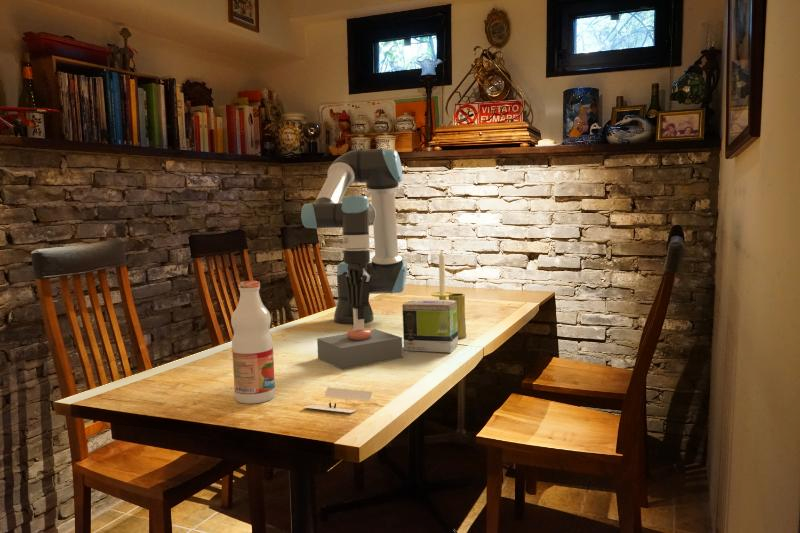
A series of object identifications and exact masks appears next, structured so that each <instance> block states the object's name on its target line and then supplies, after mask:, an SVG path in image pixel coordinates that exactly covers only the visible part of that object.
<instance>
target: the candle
mask: <svg viewBox="0 0 800 533" xmlns="http://www.w3.org/2000/svg"><path fill="white" fill-rule="evenodd" d="M445 258H446V255H445V254H444V252H443V249H441V251H440V254H439V255H438V260H439V261H438V266H439V267H438V268H439V269H438V274H439V277H438V278H439V279H438V280H439V292H433V293H431V296H432V297H435V298H436V297H439V298H438V300H447V298H449V294H453V292H448V291H447V292H446V260H445Z"/></svg>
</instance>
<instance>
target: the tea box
mask: <svg viewBox="0 0 800 533" xmlns="http://www.w3.org/2000/svg"><path fill="white" fill-rule="evenodd" d="M401 306H402V330H403V332H402V333H403V337H402V339H403V350H404V351H409V352H410V351H411V352H412V351H413V352H432V353H445V354H446V353H449V354H450V353H453V351H454V350H455V349H456V348H457V347H458V345H459V339H458V323H457V300H449V299H446V300H439V299H410V300H408V301H407V302H405V303H402V305H401Z"/></svg>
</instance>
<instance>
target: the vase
mask: <svg viewBox="0 0 800 533" xmlns="http://www.w3.org/2000/svg"><path fill="white" fill-rule="evenodd" d="M452 293H453V292H452ZM465 298H466V297H465V293H458V292H457V293H455V292H454V293H453V294H449V296H448V300H457V323H458V340H460V339H461V340H462V339H465V338H467V330H466V329H467V328H466V326H467V325H466V310H465V307H466V305H465V304H466V303H465V300H466V299H465Z"/></svg>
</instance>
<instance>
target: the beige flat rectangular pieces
mask: <svg viewBox="0 0 800 533" xmlns="http://www.w3.org/2000/svg"><path fill="white" fill-rule="evenodd" d="M372 394H373V391H369V390H368V391H367V390H359V389H358V390H357V389H347V388H338V387H337V388H336V387H327V388H326V390H325V394H324V397H327V398H339V399H349V400H356V401H358V400H359V401H366V402H367V401H368V402H370V401H371V397H372ZM303 408H306V409H312V410H313V409H315V410H322V411H331V412H339V413H340V412H341V413H354V412H356V411H357V410H356V409H347V408H340V407H339V408H338V407H337V402H335V403H334V405H333V407H332V402H331V401H329V403H328V406H322V405H315V404H314V405H313V404H310V405H307V406H303Z"/></svg>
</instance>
